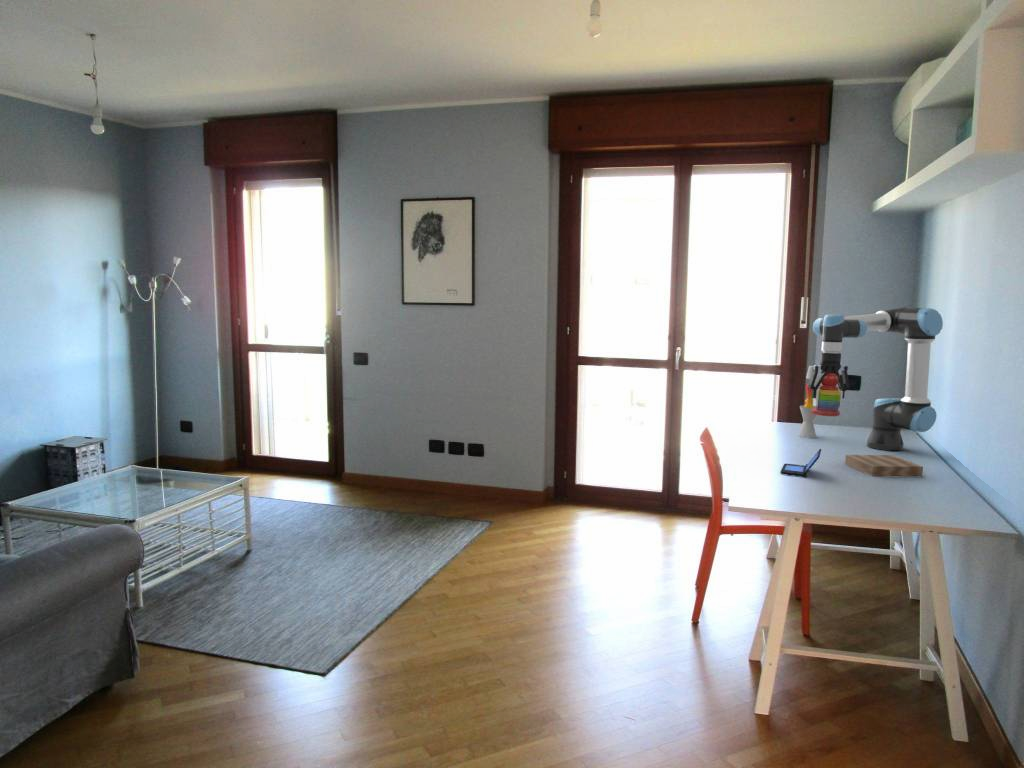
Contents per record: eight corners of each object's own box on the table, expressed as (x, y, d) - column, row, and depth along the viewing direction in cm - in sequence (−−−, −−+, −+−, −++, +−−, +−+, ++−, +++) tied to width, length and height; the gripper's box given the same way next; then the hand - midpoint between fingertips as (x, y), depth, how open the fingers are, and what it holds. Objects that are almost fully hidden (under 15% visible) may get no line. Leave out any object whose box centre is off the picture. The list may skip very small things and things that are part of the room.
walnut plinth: (892, 464, 293) (892, 455, 293) (922, 476, 274) (923, 466, 273) (845, 464, 292) (845, 454, 292) (871, 476, 273) (872, 466, 272)
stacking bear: (836, 413, 299) (839, 371, 297) (844, 417, 289) (847, 373, 287) (809, 412, 300) (812, 370, 298) (816, 416, 290) (820, 373, 288)
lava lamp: (818, 438, 346) (824, 367, 342) (799, 437, 348) (804, 366, 344) (814, 435, 355) (820, 365, 351) (795, 434, 357) (800, 364, 352)
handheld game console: (783, 466, 286) (785, 444, 285) (819, 471, 281) (821, 448, 279) (779, 475, 272) (781, 451, 271) (817, 479, 267) (819, 455, 265)
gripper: (852, 351, 296) (848, 405, 298) (801, 351, 295) (797, 404, 298) (862, 353, 288) (857, 407, 291) (809, 352, 287) (805, 407, 290)
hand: (827, 406), depth 294 cm, fingers closed on stacking bear, 9 cm apart
